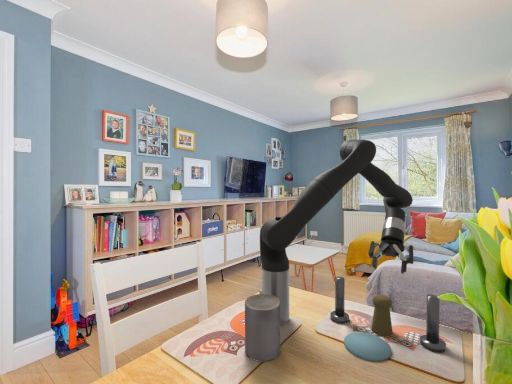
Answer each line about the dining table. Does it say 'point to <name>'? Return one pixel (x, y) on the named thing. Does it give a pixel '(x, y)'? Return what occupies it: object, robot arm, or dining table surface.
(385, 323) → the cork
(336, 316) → the gap posts
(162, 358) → the dining table surface
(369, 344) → the teal mat
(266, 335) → the pillar candle
